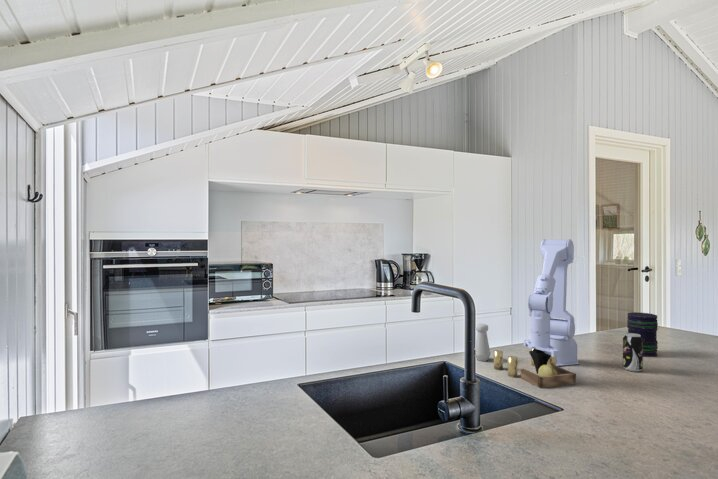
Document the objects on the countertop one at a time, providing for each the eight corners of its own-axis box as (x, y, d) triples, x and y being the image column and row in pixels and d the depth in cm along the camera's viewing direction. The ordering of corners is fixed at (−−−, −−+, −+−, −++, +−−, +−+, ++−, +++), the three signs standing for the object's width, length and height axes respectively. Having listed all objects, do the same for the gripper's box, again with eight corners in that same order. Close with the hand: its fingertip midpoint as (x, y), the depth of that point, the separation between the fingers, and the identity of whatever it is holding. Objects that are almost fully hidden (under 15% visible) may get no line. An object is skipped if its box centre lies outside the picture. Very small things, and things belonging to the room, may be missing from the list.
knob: (549, 384, 134) (549, 368, 134) (535, 379, 139) (535, 363, 139) (560, 381, 137) (559, 365, 136) (546, 376, 141) (546, 361, 141)
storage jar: (657, 352, 170) (657, 313, 170) (658, 358, 162) (658, 318, 162) (627, 348, 175) (627, 311, 175) (626, 354, 167) (626, 315, 167)
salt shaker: (488, 357, 164) (488, 322, 163) (491, 362, 158) (492, 326, 158) (472, 357, 164) (472, 322, 164) (475, 361, 159) (475, 325, 158)
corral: (555, 374, 144) (555, 365, 144) (575, 383, 135) (575, 373, 135) (521, 378, 140) (521, 369, 140) (539, 387, 131) (539, 377, 131)
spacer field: (536, 363, 156) (536, 346, 156) (558, 372, 146) (558, 354, 146) (492, 367, 151) (492, 350, 151) (511, 377, 141) (511, 358, 141)
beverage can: (639, 373, 144) (639, 337, 144) (620, 369, 149) (620, 334, 149) (645, 370, 148) (645, 334, 148) (626, 366, 152) (626, 331, 152)
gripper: (515, 327, 147) (515, 368, 147) (545, 337, 133) (545, 382, 133) (533, 326, 149) (533, 366, 149) (564, 335, 135) (564, 379, 135)
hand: (540, 373), depth 141 cm, fingers closed
